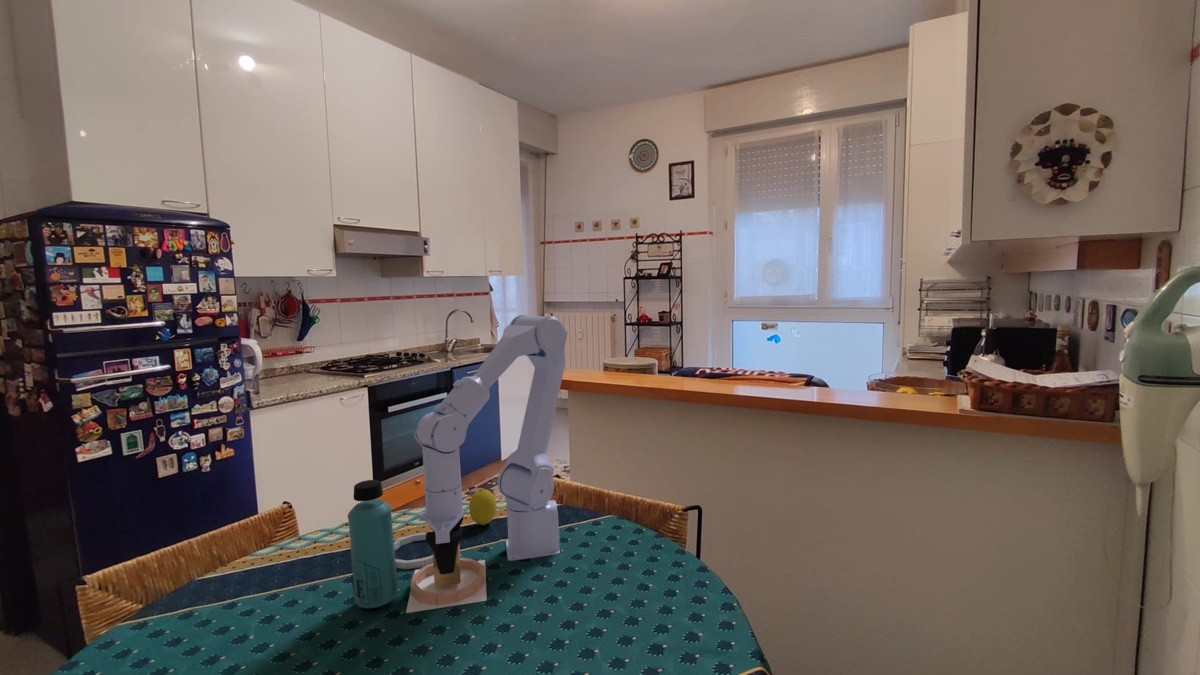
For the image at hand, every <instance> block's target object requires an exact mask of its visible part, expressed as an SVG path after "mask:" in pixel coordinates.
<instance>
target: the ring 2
mask: <svg viewBox="0 0 1200 675" xmlns="http://www.w3.org/2000/svg"><path fill="white" fill-rule="evenodd" d="M478 561H479V560H476V559H472V558H466V557H460V563H461V568H462V569H469V570H473V571H474V572H475V573H477V574H478V575H479V576H478V577H477V578H476V579H475V580H474V581H473V582H472V583H471V584H469V585H467V586H465V587H463V588H460V589H458V590H456V591H450V592H443V593H433V592H427V591H423V590H422V589H420V588H419V587H418V584H419V583H420V582H421V581H423V580H424V579H425V578H426V577H427V576H429V575H432V574H434V566H433V563H432V564H429V565H426V566H424V567H421V568H419V569H420V570H419V571H418V572H417V573H416V574H414V573H413V575H412V577H411V582H410V591H411V595H412V596H413V597H414V598H415V599H416V600H417V601H418V602H420V603H425V604H431V605H443V604H450V603H456V602H459V601H461V600H464V599H466V598H468V597H470V596H472V595H474V594H476V593H477V592H478V591H479V589H480V588H481V587H482V586H483V585H484V584H485V577H484V566H483V565H482V564H481V563H479V562H478Z"/></svg>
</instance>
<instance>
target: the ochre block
mask: <svg viewBox="0 0 1200 675" xmlns="http://www.w3.org/2000/svg"><path fill="white" fill-rule="evenodd" d="M460 546H461V545H460V544H459V545H458V548H457V552H456V562H455V569H454V572H453V573H448V574H440V572H439V569H438V566H437V562H436V558H435V555H434V553H433V552H432V555H433V566H434V583H435V587H438V586H445V585H452V584H459V583H460V580H461V563H460V558H461V551H460V550H461V547H460Z"/></svg>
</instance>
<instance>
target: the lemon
mask: <svg viewBox="0 0 1200 675" xmlns="http://www.w3.org/2000/svg"><path fill="white" fill-rule="evenodd" d="M468 511H469V515H470V518H471V520H472V521H474V523H476V524H478V525H481V526H486V525H487V524H488V523H490V522H491V521H492V520H494V518H495V516H496V512H497V501H496V498H495V495H494V494H493V493H492V492H491V491H490V490H488V489H485V488H480V489H479V490H477V491H475V492H474V493H473V494H472V495H471V497H470V500H469V505H468Z"/></svg>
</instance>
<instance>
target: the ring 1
mask: <svg viewBox="0 0 1200 675" xmlns="http://www.w3.org/2000/svg"><path fill="white" fill-rule="evenodd" d="M419 541H426V532H418V533H412V534H410V535H409V534H408V535H407V536H404V537H401V538H397V539H396V540H394V549H395V548H396V549H395V550H396V551H397V550H398V549H400V547H403V546H405V545H409V544H411V543H414V542H419ZM395 559H396V560H395V562H396V563H397V569H402V570H411V569H417V568H418V569H420V568H423V567H424V566H426V565H429V564H432V563H433V554H432V555H429V556H426V557H424V558H418V559H410V560H406V559H405V560H404V559H400V558H399V559H398V558H395Z"/></svg>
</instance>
